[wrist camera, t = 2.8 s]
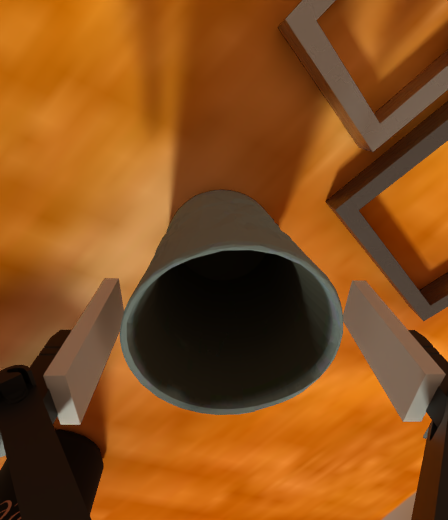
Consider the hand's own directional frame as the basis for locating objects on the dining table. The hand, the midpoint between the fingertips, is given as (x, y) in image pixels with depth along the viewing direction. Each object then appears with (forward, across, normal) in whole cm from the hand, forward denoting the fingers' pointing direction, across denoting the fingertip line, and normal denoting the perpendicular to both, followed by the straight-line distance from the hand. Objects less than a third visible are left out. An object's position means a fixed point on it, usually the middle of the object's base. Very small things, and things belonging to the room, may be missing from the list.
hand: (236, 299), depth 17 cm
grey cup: (+8, 0, 0) cm, 8 cm away
